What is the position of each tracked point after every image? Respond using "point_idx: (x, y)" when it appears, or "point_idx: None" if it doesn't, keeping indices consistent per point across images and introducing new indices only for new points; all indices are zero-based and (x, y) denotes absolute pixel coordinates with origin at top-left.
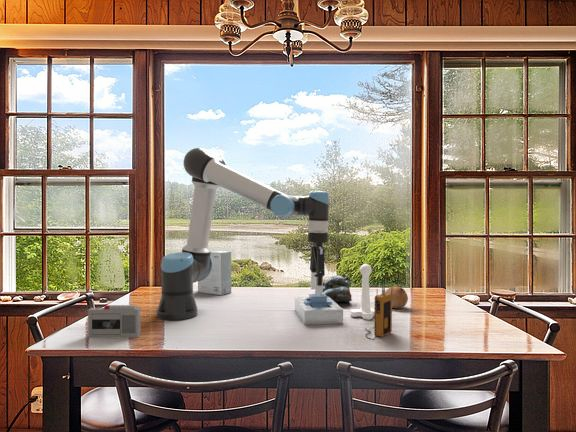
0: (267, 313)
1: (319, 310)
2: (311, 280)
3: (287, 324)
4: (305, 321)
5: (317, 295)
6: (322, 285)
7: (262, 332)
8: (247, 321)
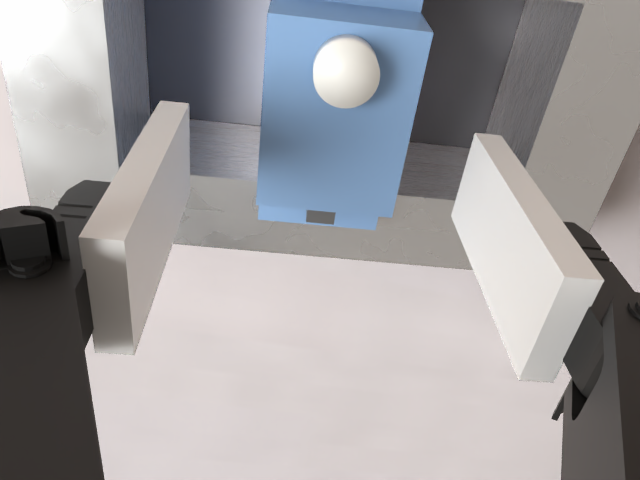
0: (181, 351)
1: (617, 165)
2: (165, 259)
3: (474, 302)
4: None
5: (352, 135)
6: (540, 196)
7: (558, 421)
8: (338, 447)
